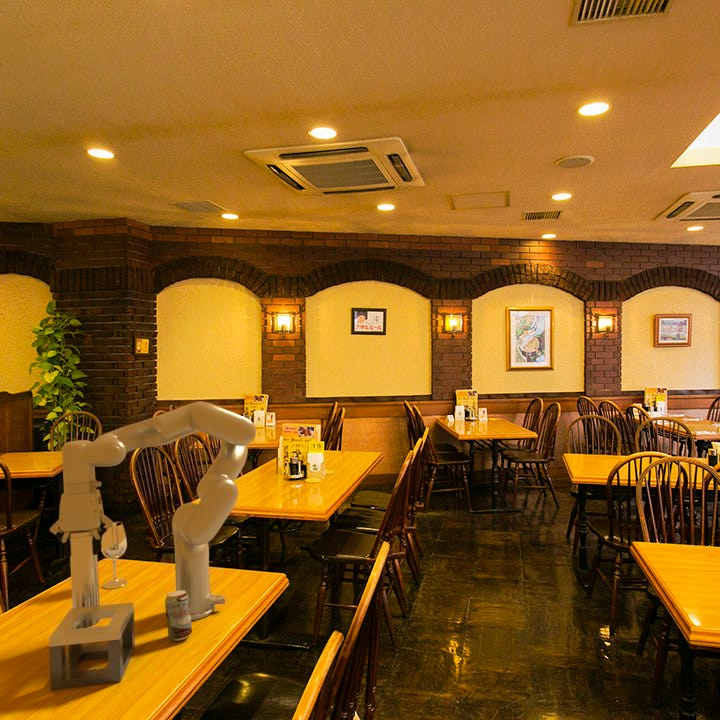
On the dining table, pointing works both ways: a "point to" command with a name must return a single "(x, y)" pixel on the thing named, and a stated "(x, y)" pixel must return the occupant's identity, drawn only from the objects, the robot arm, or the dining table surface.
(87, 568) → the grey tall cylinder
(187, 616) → the beverage can
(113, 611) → the collar stand
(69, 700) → the dining table surface
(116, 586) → the wineglass
